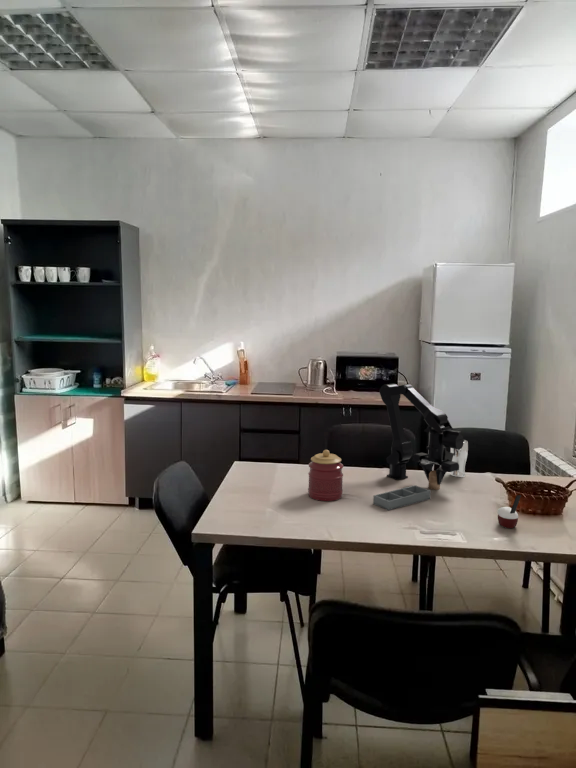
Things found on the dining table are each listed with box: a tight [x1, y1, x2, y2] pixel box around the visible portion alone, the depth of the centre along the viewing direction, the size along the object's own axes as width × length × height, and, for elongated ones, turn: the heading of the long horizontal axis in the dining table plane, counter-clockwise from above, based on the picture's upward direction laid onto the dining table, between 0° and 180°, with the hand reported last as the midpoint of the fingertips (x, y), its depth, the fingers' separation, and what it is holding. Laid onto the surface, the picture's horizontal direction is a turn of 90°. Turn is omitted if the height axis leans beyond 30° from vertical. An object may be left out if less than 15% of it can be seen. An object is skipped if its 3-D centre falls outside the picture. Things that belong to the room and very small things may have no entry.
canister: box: [307, 449, 344, 502], centre depth 203 cm, size 13×13×18 cm
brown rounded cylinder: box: [427, 469, 441, 491], centre depth 214 cm, size 4×4×7 cm
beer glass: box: [449, 439, 469, 478], centre depth 231 cm, size 7×7×15 cm
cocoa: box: [497, 494, 522, 529], centre depth 176 cm, size 10×6×12 cm, turn 169°
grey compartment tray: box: [372, 484, 432, 511], centre depth 199 cm, size 8×22×3 cm, turn 124°
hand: (434, 483), depth 214 cm, fingers closed on brown rounded cylinder, 4 cm apart
